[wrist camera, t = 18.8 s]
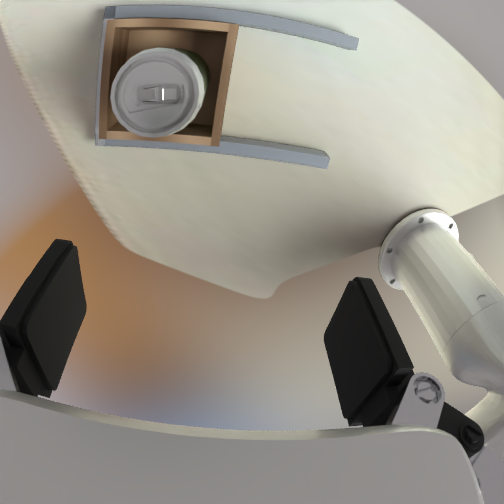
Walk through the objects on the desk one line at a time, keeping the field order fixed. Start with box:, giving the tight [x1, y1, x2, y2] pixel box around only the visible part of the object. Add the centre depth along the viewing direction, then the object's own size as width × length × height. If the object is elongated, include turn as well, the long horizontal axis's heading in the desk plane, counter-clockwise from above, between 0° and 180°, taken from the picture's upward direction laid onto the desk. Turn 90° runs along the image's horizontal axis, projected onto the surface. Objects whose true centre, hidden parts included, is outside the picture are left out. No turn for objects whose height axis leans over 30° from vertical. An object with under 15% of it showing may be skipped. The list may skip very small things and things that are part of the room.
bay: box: [95, 5, 359, 169], centre depth 25 cm, size 22×13×2 cm, turn 80°
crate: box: [99, 18, 239, 147], centre depth 23 cm, size 10×10×5 cm
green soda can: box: [110, 47, 210, 138], centre depth 20 cm, size 5×5×12 cm
